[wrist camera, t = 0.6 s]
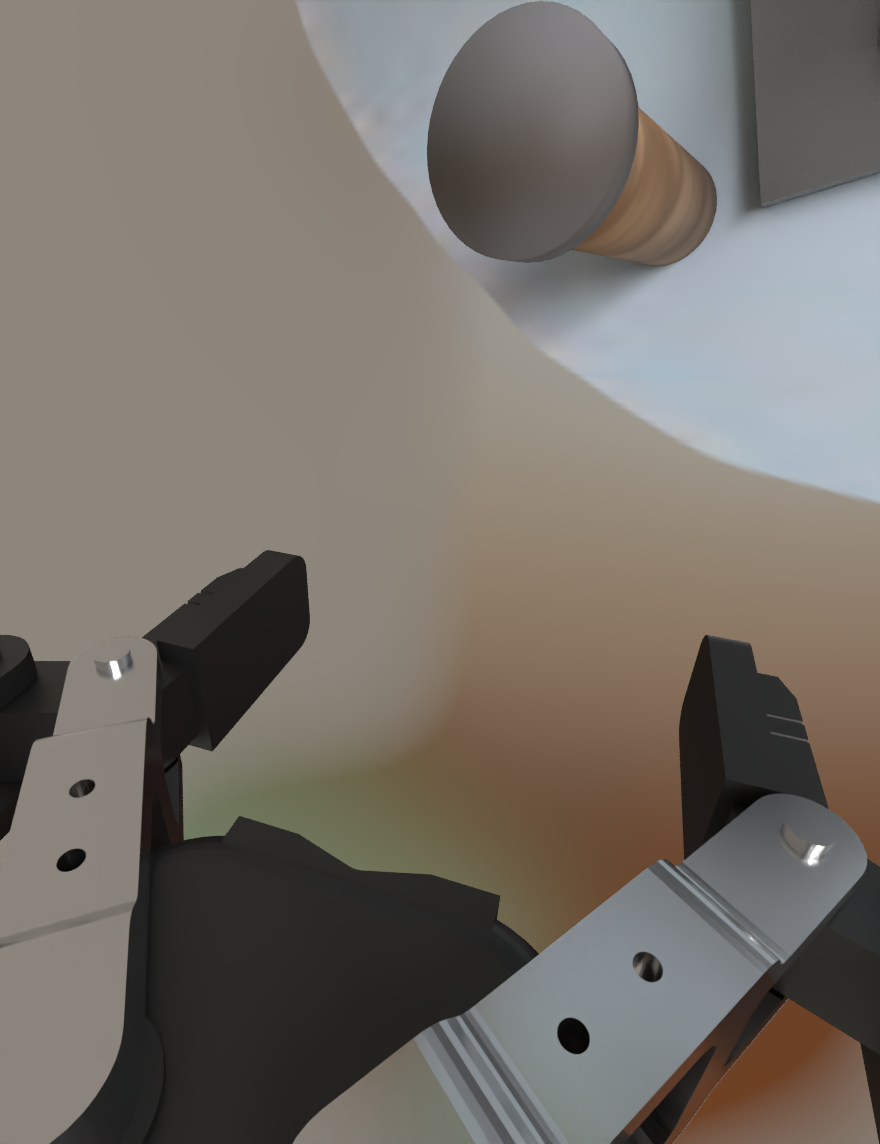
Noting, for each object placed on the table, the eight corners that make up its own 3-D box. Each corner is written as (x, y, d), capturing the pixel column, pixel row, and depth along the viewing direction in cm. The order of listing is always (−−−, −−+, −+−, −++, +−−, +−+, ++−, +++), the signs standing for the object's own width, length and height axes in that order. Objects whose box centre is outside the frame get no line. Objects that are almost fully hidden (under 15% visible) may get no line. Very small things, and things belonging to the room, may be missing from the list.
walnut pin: (598, 167, 30) (408, 65, 17) (727, 118, 27) (609, -51, 14) (612, 293, 31) (448, 283, 19) (735, 260, 28) (637, 223, 16)
